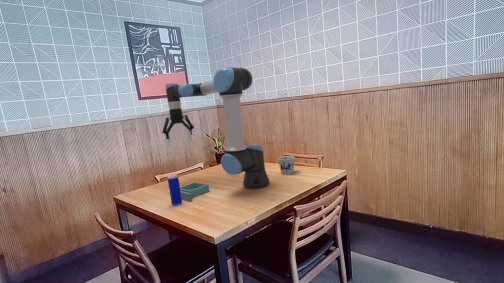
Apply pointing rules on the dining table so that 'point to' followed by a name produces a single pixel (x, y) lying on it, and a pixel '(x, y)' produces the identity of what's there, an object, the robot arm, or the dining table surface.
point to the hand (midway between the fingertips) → (180, 142)
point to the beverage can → (174, 189)
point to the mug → (286, 164)
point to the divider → (186, 196)
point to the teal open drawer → (195, 188)
